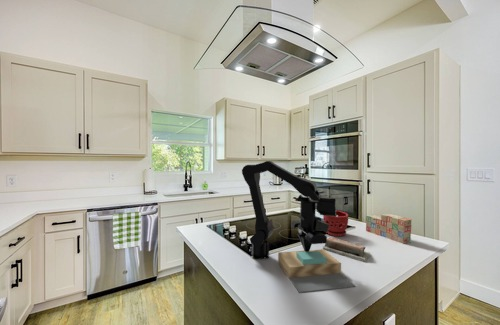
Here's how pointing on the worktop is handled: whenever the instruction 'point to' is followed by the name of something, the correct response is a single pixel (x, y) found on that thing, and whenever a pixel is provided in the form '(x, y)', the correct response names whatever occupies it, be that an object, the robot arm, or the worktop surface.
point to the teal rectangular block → (311, 257)
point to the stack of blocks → (390, 227)
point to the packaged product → (346, 249)
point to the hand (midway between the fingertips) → (306, 252)
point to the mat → (321, 282)
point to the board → (299, 270)
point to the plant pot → (337, 223)
